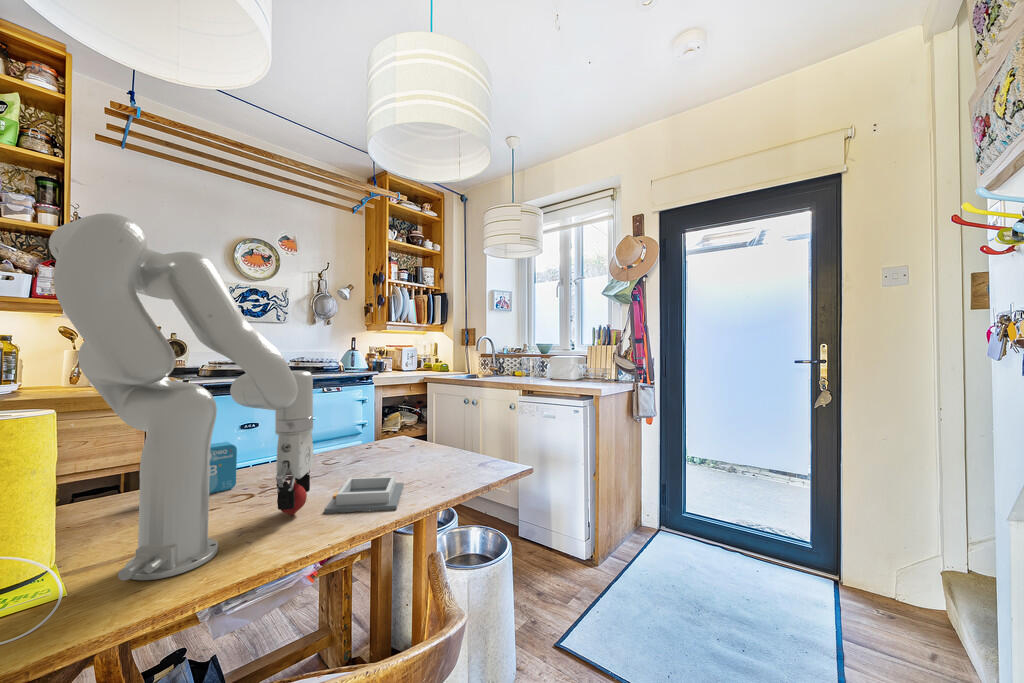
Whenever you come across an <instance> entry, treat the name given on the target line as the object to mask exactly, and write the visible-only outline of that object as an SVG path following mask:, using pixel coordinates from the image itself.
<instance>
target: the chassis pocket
mask: <svg viewBox="0 0 1024 683" xmlns="http://www.w3.org/2000/svg"><path fill="white" fill-rule="evenodd" d="M403 486H404V487H405V483H404V482H396V476H395V475H394V476H393V475H391V476H372V477H371V476H370V477H369V476H368V477H367V476H365V477H348V478H347V480H345V482H344V484H343V485H341V487H339V489H338V491H335V492H334V494H333V495H332V498H331V500H330V501H329V502H328V504H327V505H326V506H325V507H324V514H338V513H337V512H342V513H354V512H353V511H362V512H372V511H371V510H382V511H391V510H390V509H397V510H398V507H397V506H399V502H400V500H401V497H400V496H402V494H401V493H403V490H404V487H403ZM402 489H403V490H402ZM399 499H400V500H399ZM388 509H389V510H388ZM369 510H370V511H369Z"/></svg>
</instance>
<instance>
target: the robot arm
mask: <svg viewBox="0 0 1024 683" xmlns="http://www.w3.org/2000/svg"><path fill="white" fill-rule="evenodd" d="M48 247H49V251H50V253H51V255H52V256H53V258H54V259H55V261H56V262H55V264H54V271H53V289H54V294H55V296H56V299H57V302H58V303H59V305H60V307H61V309H62V310H63V312H64V314H65V315H66V316H67V318H68V320H69V321H70V323H71V324H72V325H73V327H74V328H75V329H76V331H77V333H78V334H79V335H80V337H81V338H82V339H83V340H84V341H83V343H81V345H80V347H79V349H78V353H77V362H78V365H79V368H80V370H81V371H82V374H83V375H84V377H85V378H86V379H87V380H88V382H89V383H90V384H91V385H92V387H93V388H94V389H95V390H96V392H97V393H98V394H99V395H100V396H101V397H102V398H103V400H104V402H106V404H107V405H108V406H109V407H110V408H111V410H113V412H114V413H115V414H116V415H117V417H118V418H120V420H122V421H123V423H125V424H126V425H128V426H130V427H131V428H133V429H135V430H139V431H143V432H146V437H145V441H144V444H143V447H142V451H141V454H140V455H141V456H140V460H139V461H140V462H139V497H138V498H139V500H138V537H137V538H138V539H137V543H138V544H137V549H135V555H134V556H133V557H132V558H131V559H130V560H129V561H127V562H126V564H125V566H124V567H123V568H121V569H120V570H119V571H118V573H117V577H118V579H119V580H120V581H129V580H134V581H153V580H159V579H166V578H169V577H173V576H177V575H180V574H184V573H187V572H190V571H192V570H195V569H197V568H198V567H200V566H202V565H204V564H206V563H207V562H210V560H212V559H213V558H214V557H215V556H216V555H217V553H218V552H219V543H218V541H217V540H215V539H213V538H209V516H210V514H209V513H210V512H209V511H210V509H209V508H210V494H209V479H210V447H211V444H212V438H213V433H214V428H215V423H216V420H217V415H218V414H217V413H218V412H217V410H218V407H217V402H216V399H215V398H214V396H213V394H212V393H211V392H210V391H209V390H207V389H206V388H205V387H203V386H202V385H198V384H195V383H192V382H186V381H177V380H171V379H170V377H169V375H171V373H172V372H173V371H174V369H175V367H176V363H177V358H176V357H177V356H176V353H175V350H174V349H173V346H172V344H170V342H169V340H167V338H166V337H165V336H164V334H163V333H162V332H161V330H160V328H159V327H158V326H157V324H156V323H155V321H154V320H153V318H152V316H150V314H149V313H148V311H147V310H146V309H145V306H144V305H143V303H142V302H141V300H140V298H139V295H138V294H140V295H145V296H147V297H152V298H155V299H159V300H169V301H171V300H172V302H173V303H174V305H175V307H176V308H177V310H178V311H179V312H180V313H181V315H182V317H183V318H184V320H185V321H186V323H187V324H188V327H190V329H191V330H192V332H193V333H194V335H195V337H196V338H197V340H198V341H199V342H200V343H201V344H202V345H204V346H205V347H207V348H208V349H209V350H212V351H214V352H215V353H217V354H219V355H221V356H223V357H225V358H227V359H229V360H230V361H232V362H233V363H234V364H236V365H237V366H238V367H239V368H240V369H241V370H242V371H244V374H242V375H240V376H238V377H237V378H236V379H234V380H233V382H232V384H231V385H230V390H229V392H230V396H231V399H233V401H234V402H235V403H237V404H239V405H241V406H242V407H245V408H250V409H251V408H252V409H261V410H268V411H275V412H274V413H275V414H274V415H275V416H274V418H275V421H274V424H275V435H277V436H278V437H277V444H276V446H277V447H276V476H275V482H276V484H275V485H276V488H277V489H276V492H277V498H278V504H277V509H278V511H279V510H280V511H281V510H285V509H293V508H294V507H295V490H293V486H294V482H295V480H297V481H296V483H297V484H299V485H301V486H302V487H303V488H304V489H305V491H306V493H309V491H310V490H311V476H310V473H311V469H312V468H313V467H314V463H315V462H314V460H315V459H314V441H313V432H312V431H314V426H313V425H314V411H313V410H314V408H313V407H314V399H313V398H314V387H313V385H314V384H313V383H314V377H313V374H312V372H310V371H308V370H291V368H290V366H289V365H288V362H287V361H286V359H285V358H284V356H283V355H282V353H281V352H280V351H279V350H278V349H277V348H276V347H275V346H274V345H273V344H272V343H271V342H270V341H269V340H268V339H267V338H266V337H265V336H264V335H262V334H261V333H260V332H259V330H257V329H256V328H255V327H253V326H252V325H251V324H250V323H249V322H248V320H247V319H246V318H245V315H244V314H243V313H242V311H241V308H239V306H238V304H237V302H236V300H235V299H234V297H233V295H232V293H231V292H230V291H229V289H228V287H227V285H226V284H225V282H224V280H223V279H222V278H223V277H221V275H220V274H219V271H218V269H217V268H216V266H215V265H214V264H213V263H212V261H211V260H210V259H208V258H207V257H206V256H204V255H203V254H200V253H197V252H194V251H176V252H169V253H161V252H158V251H156V250H151V249H150V248H148V241H147V236H146V235H145V233H144V231H143V229H142V228H141V227H140V225H138V224H137V223H136V222H135V221H133V220H132V219H131V218H128V217H126V216H123V215H121V214H116V213H96V214H90V215H88V216H84V217H80V218H79V219H76V220H74V221H70V222H66V223H65V224H63V225H61V226H58V227H57V228H56V229H55V230H53V231H52V233H51V234H50V237H49V241H48ZM137 293H138V294H137ZM288 481H289V483H288Z"/></svg>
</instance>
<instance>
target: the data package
mask: <svg viewBox="0 0 1024 683" xmlns="http://www.w3.org/2000/svg"><path fill="white" fill-rule="evenodd" d="M237 455H238V448H237V446H236V445H235V444H233V443H232V442H229V441H223V442H216V443H211V447H210V479H209V495H211V493H212V494H216V493H215V492H217V493H220V492H219V491H221V492H225V490H226V491H229V489H230V490H231V489H232V490H233V489H234V488H235V486H236V484H237V467H238V466H237V465H238V463H237V462H238V456H237Z"/></svg>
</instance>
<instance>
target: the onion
mask: <svg viewBox="0 0 1024 683" xmlns="http://www.w3.org/2000/svg"><path fill="white" fill-rule="evenodd" d="M296 481H297V480H295V482H294V486H293V490H295V507H294V508H293V509H285V510H280V511H281V512H282V513H284V514H287V515H288V516H293V515H296V513H297V512H298V511H300V510H301V509H302V508H303V507H304V506H305V504H306V501H307V496H308V495H307V493H308V492H306V491H305V489H304V488H303V487H302V486H301V485H299V484H297V483H296ZM276 504H277V505H278V497H277V500H276Z"/></svg>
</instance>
